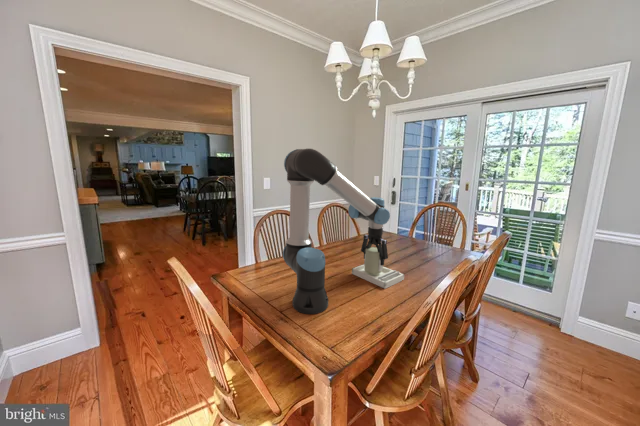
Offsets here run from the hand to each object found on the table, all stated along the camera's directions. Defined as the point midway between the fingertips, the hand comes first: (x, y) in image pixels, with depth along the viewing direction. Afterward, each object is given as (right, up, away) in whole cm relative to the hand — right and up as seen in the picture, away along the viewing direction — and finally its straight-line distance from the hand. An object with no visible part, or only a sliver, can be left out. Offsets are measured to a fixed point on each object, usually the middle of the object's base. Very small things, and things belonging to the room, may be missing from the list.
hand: (373, 267), depth 141 cm
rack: (+2, -5, -1) cm, 5 cm away
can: (0, -2, 0) cm, 2 cm away
